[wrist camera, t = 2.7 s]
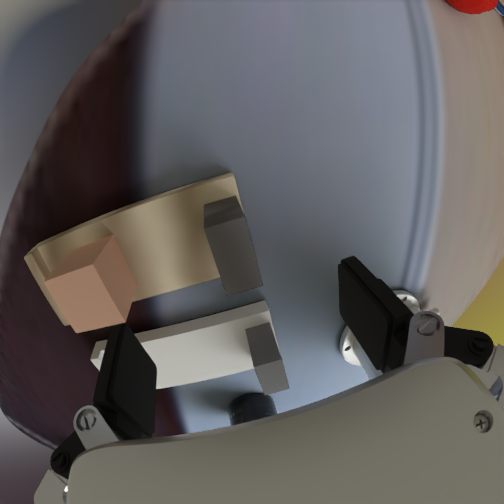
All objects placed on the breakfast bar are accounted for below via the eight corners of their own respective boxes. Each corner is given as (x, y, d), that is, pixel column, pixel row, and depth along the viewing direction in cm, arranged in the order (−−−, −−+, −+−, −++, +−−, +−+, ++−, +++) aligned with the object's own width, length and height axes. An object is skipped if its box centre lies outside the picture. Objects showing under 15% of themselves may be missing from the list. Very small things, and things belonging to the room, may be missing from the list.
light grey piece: (265, 299, 27) (282, 347, 21) (278, 350, 31) (293, 394, 25) (96, 341, 26) (81, 386, 20) (129, 382, 30) (123, 424, 24)
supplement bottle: (237, 419, 38) (249, 483, 27) (220, 400, 34) (231, 474, 24) (278, 407, 38) (297, 472, 27) (266, 386, 34) (286, 462, 24)
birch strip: (232, 172, 21) (243, 191, 15) (254, 257, 25) (270, 301, 19) (37, 243, 20) (2, 278, 14) (73, 308, 24) (51, 352, 18)
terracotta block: (113, 234, 20) (93, 264, 15) (137, 285, 22) (125, 322, 18) (68, 251, 20) (43, 281, 15) (93, 297, 22) (76, 333, 18)
